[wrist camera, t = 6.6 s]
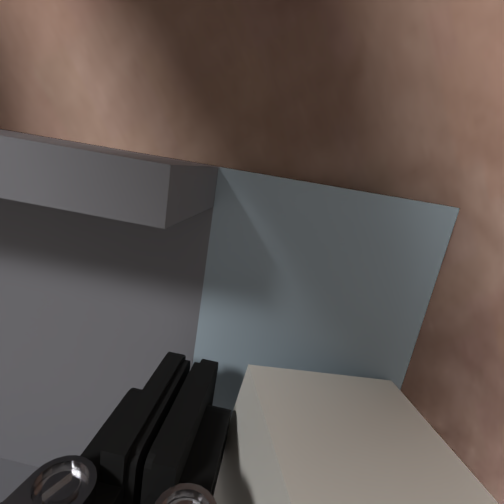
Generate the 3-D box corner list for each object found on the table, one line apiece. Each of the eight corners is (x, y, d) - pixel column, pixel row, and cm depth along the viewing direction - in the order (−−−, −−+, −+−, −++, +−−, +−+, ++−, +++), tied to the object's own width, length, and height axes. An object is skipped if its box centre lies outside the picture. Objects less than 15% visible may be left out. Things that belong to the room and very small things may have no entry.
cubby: (451, 206, 10) (576, 235, 5) (340, 554, 13) (361, 736, 9) (-275, 81, 12) (-608, 29, 7) (-199, 415, 15) (-390, 511, 11)
